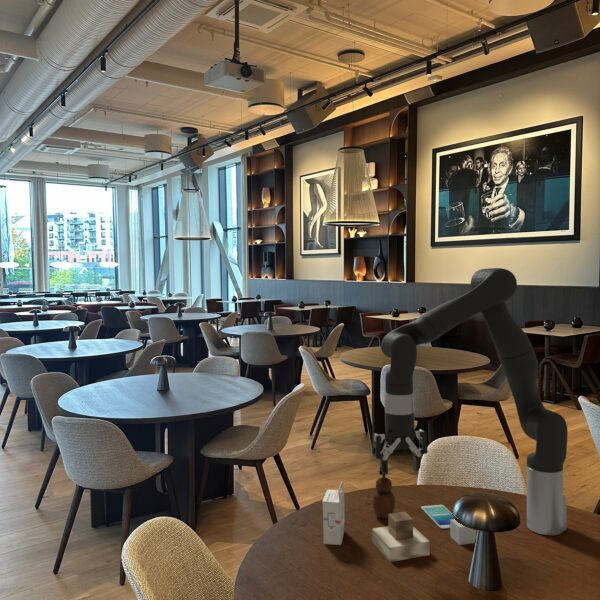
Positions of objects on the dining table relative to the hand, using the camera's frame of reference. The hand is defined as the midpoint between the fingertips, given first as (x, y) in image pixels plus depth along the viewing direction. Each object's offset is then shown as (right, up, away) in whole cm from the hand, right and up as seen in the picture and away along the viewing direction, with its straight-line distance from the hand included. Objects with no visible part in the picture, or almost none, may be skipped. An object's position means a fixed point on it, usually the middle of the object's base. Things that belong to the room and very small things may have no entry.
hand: (400, 471), depth 142 cm
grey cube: (+18, -20, +5) cm, 27 cm away
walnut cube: (0, -17, +1) cm, 17 cm away
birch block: (0, -21, +1) cm, 21 cm away
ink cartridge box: (-17, -20, +7) cm, 27 cm away
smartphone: (+16, -20, +19) cm, 31 cm away
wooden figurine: (-1, -20, +20) cm, 28 cm away
